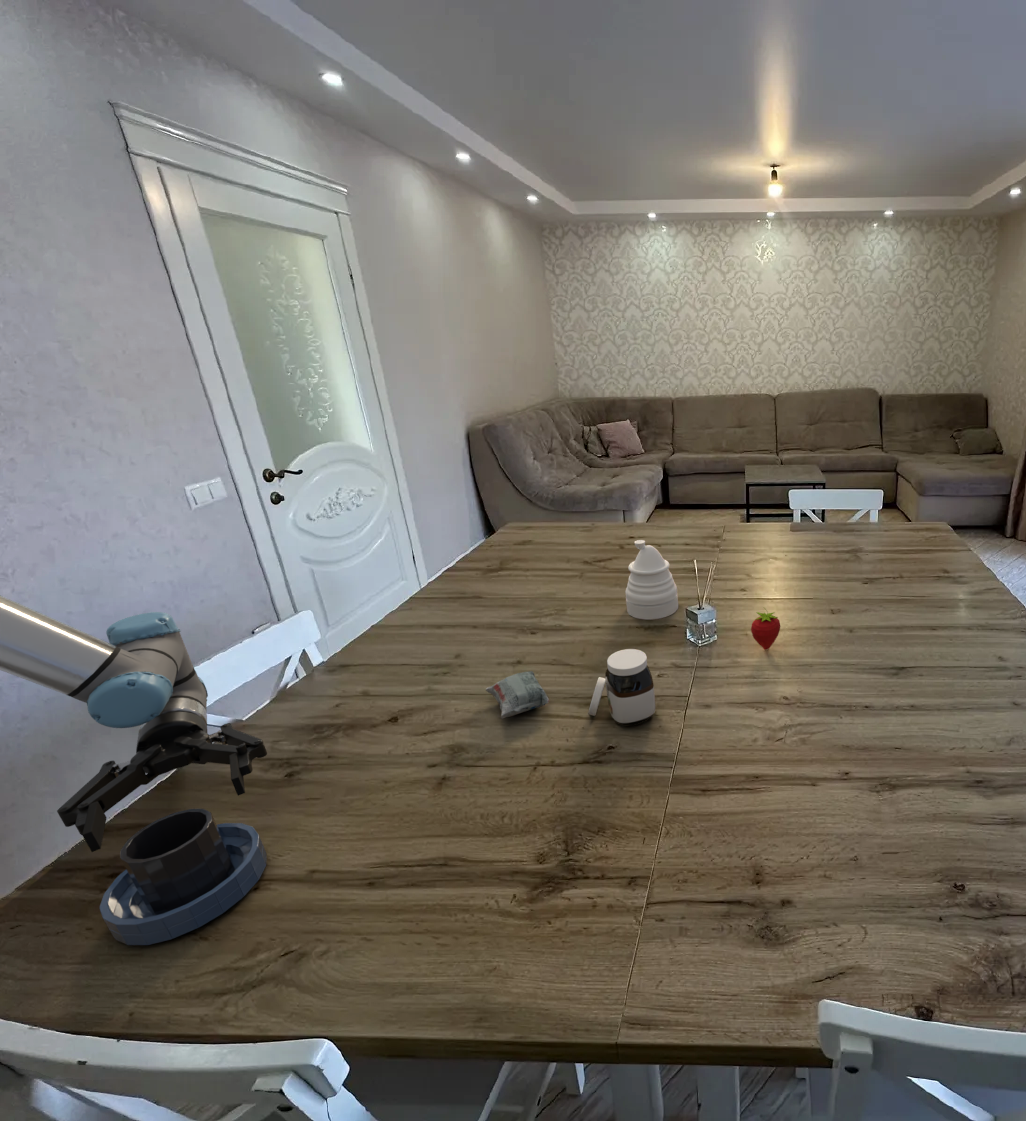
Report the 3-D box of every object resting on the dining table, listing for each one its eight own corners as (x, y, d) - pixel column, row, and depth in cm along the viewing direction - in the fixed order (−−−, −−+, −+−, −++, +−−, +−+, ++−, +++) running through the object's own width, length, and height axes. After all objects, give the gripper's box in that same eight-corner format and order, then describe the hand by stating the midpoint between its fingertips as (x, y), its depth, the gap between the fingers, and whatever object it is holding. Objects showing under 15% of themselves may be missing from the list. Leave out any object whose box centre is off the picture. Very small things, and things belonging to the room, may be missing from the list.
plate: (76, 949, 66) (61, 924, 65) (190, 845, 80) (179, 823, 78) (202, 948, 66) (190, 924, 65) (294, 844, 80) (286, 822, 78)
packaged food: (502, 729, 102) (498, 705, 101) (487, 697, 111) (482, 675, 110) (552, 712, 107) (549, 689, 105) (533, 682, 116) (529, 661, 114)
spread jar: (662, 722, 104) (657, 666, 99) (599, 743, 99) (591, 684, 95) (640, 689, 114) (635, 636, 109) (582, 705, 109) (574, 651, 104)
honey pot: (633, 623, 139) (627, 553, 133) (621, 602, 150) (615, 536, 144) (684, 613, 144) (681, 545, 137) (669, 593, 155) (665, 529, 148)
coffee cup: (131, 918, 69) (99, 862, 66) (191, 861, 76) (165, 808, 73) (198, 918, 69) (169, 862, 66) (251, 861, 76) (228, 808, 73)
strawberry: (745, 653, 126) (744, 611, 122) (762, 638, 132) (762, 598, 128) (768, 660, 123) (768, 618, 119) (785, 645, 129) (786, 604, 125)
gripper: (282, 719, 98) (298, 787, 83) (63, 792, 82) (34, 893, 67) (269, 680, 95) (282, 744, 80) (39, 749, 79) (3, 844, 65)
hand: (169, 812), depth 74 cm, fingers open, 13 cm apart
